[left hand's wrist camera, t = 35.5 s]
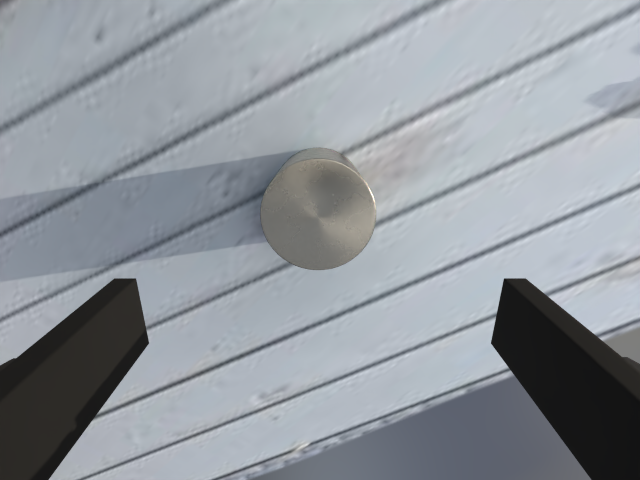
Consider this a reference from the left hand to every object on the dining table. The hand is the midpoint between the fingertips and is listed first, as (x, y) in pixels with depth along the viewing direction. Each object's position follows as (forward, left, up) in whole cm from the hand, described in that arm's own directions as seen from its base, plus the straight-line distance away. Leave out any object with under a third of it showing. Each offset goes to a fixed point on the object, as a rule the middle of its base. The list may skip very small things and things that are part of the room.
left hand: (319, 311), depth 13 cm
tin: (0, 0, -23) cm, 23 cm away
